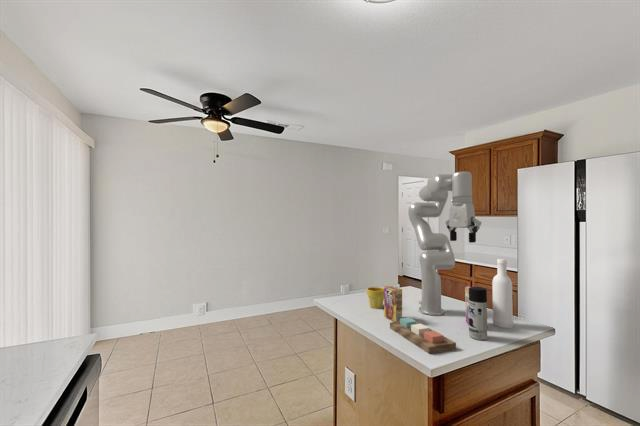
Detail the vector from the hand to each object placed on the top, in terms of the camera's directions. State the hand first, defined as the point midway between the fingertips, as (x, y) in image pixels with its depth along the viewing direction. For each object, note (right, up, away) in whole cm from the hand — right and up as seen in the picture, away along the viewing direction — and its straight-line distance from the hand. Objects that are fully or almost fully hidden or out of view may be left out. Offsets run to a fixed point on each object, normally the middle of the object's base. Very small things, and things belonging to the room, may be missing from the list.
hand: (462, 241), depth 122 cm
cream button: (-19, -37, -4) cm, 42 cm away
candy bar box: (+10, -40, +10) cm, 42 cm away
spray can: (+5, -39, -4) cm, 40 cm away
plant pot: (-29, -40, +38) cm, 62 cm away
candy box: (-25, -40, +18) cm, 50 cm away
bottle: (+23, -40, +10) cm, 47 cm away
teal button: (-22, -38, +3) cm, 44 cm away
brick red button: (-17, -37, -12) cm, 42 cm away
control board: (-19, -39, -4) cm, 44 cm away
